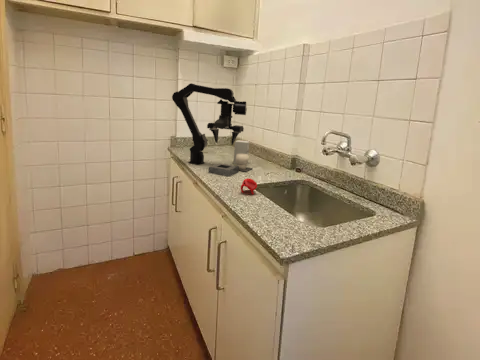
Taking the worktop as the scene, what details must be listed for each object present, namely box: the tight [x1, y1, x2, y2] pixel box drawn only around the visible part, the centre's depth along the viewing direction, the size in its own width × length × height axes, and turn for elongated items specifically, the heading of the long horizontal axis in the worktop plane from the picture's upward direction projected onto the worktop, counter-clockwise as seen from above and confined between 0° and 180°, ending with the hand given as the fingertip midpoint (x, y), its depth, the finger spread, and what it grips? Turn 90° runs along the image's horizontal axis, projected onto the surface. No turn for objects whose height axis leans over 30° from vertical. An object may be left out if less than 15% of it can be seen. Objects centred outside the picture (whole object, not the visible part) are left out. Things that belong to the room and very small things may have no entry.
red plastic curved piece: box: [240, 178, 258, 195], centre depth 124 cm, size 8×6×6 cm
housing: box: [208, 162, 239, 177], centre depth 153 cm, size 11×11×3 cm
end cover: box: [236, 153, 250, 169], centre depth 162 cm, size 6×6×7 cm
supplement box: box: [232, 139, 251, 165], centre depth 176 cm, size 7×7×13 cm
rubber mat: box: [238, 166, 253, 173], centre depth 163 cm, size 9×9×1 cm
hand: (224, 143), depth 165 cm, fingers open, 9 cm apart
